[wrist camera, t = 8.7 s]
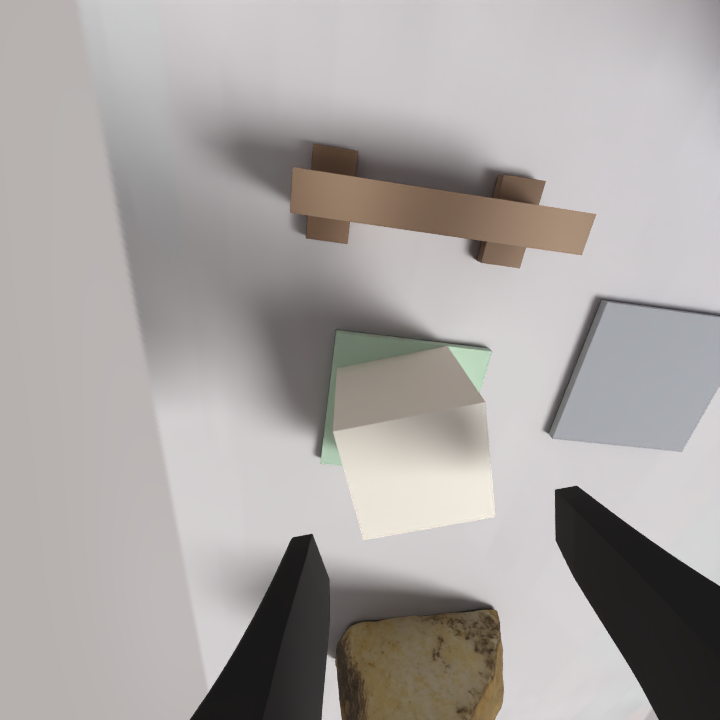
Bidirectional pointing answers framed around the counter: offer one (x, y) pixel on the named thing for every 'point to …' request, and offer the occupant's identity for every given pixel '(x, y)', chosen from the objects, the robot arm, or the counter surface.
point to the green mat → (377, 347)
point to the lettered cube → (413, 443)
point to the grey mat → (641, 378)
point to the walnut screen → (434, 210)
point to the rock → (422, 668)
